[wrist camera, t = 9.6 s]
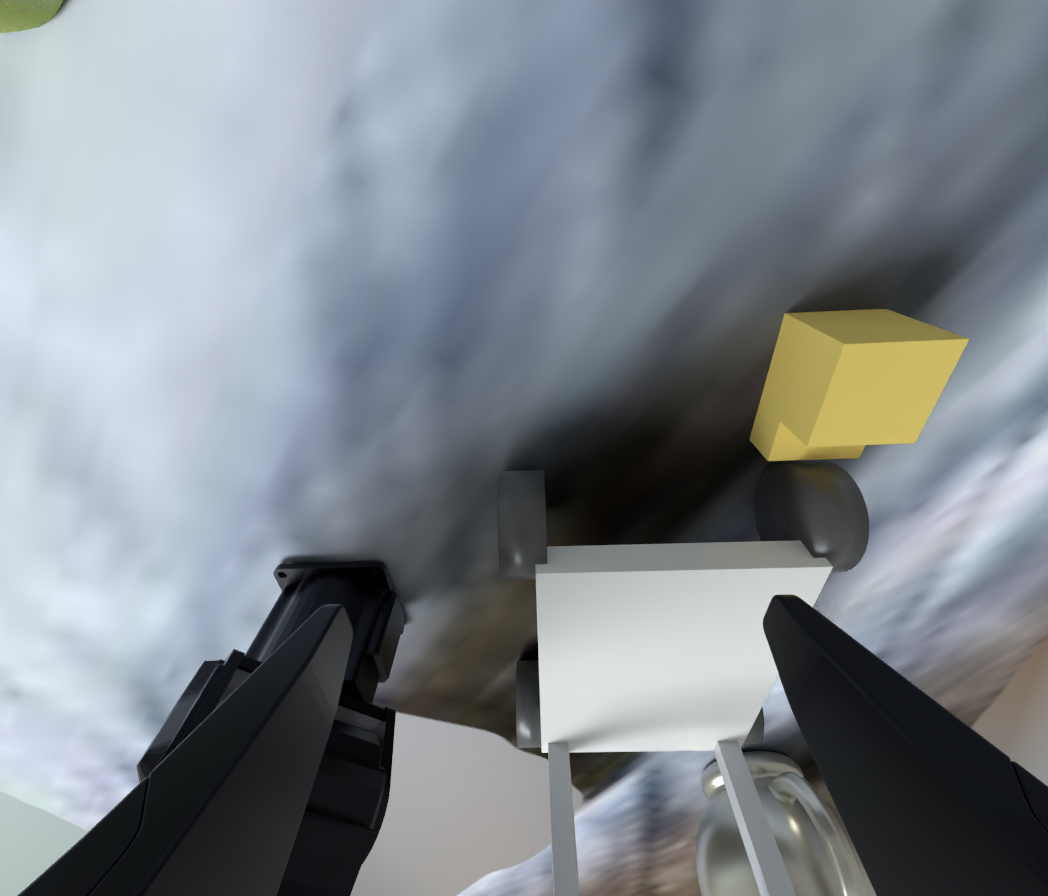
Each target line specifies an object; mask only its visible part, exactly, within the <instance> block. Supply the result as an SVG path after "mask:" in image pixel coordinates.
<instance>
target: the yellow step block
mask: <svg viewBox="0 0 1048 896" xmlns="http://www.w3.org/2000/svg"><path fill="white" fill-rule="evenodd" d="M968 341H969V339H968V338H965V337H963V336H960V335H957V334H954V333H952V332H949V331H946V330H943V329H940V328H938V327H935V326H932V325H929V324H927V323H924V322H921V321H918V320H916V319H913V318H910V317H907V316H904V315H902V314H899V313H896V312H893V311H891V310H888V309H870V310H847V311H824V312H801V313H785V314H784V318H783V321H782V325H781V329H780V332H779V336H778V339H777V343H776V346H775V350H774V354H773V357H772V361H771V364H770V368H769V371H768V375H767V379H766V382H765V386H764V389H763V393H762V396H761V400H760V403H759V407H758V411H757V414H756V418H755V421H754V425H753V428H752V432H751V436H750V439H749V440H750V441H751V442H752V443H753V444H754V446H755V447H756V448H757V449H758V450H759V451H760V453H761V454H762V455H763V456H764V457H765V458H766V460H767V461H788V460H817V459H846V458H860V456H861V454H862V452H863V450H864V448H865V445H879V444H907V443H915V442H916V440H917V438H918V437H919V435H920V433H921V431H922V429H923V427H924V425H925V423H926V421H927V419H928V417H929V415H930V414H931V412H932V410H933V408H934V406H935V404H936V402H937V400H938V398H939V396H940V394H941V393H942V391H943V389H944V387H945V385H946V383H947V381H948V379H949V377H950V375H951V373H952V371H953V370H954V368H955V366H956V364H957V362H958V360H959V358H960V356H961V354H962V352H963V350H964V349H965V347H966V345H967V343H968Z"/></svg>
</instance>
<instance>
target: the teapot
mask: <svg viewBox="0 0 1048 896" xmlns="http://www.w3.org/2000/svg"><path fill="white" fill-rule="evenodd" d="M742 753H743V756H744V758H745V761H746V764H747V766H748V769H749V771H750V774H751V777H752V779H753V782H754V785H755V787H756V790H757V793H758V795H759V798H760V801H761V803H762V806H763V809H764V811H765V814H766V817H767V819H768V822H769V825H770V827H771V830H772V833H773V835H774V838H775V841H776V843H777V846H778V849H779V851H780V854H781V857H782V859H783V862H784V865H785V867H786V870H787V873H788V875H789V878H790V881H791V883H792V886H793V889H794V891H795V894H796V896H877V895H876V893H875V891H874V889H873V887H872V885H871V882H870V880H869V878H868V876H867V874H866V871H865V869H864V867H863V865H862V863H861V861H860V858H859V856H858V854H857V852H856V850H855V847H854V845H853V843H852V841H851V839H850V837H849V834H848V832H847V830H846V828H845V826H844V823H843V821H842V819H841V817H840V815H839V812H838V810H837V808H836V807H834V806H833V805H832V804H831V803H830V802H828V801H827V800H825V799H824V798H823V797H822V796H821V795H820V794H819V792H818V791H817V790H816V789H815V788H814V787H813V786H812V785H811V784H810V783H809V782H808V781H807V780H806V779H804V775H803V772H802V770H801V768H800V767H799V766H798V764H797V763H796V762H794V761H793V760H792V759H790V758H789V757H787V756H785V755H782V754H779V753H775V752H769V751H748V752H742ZM701 786H702V789H703V792H704V794H705V795H706V797H707V798H708V799H709V800H710V802H709V804H708V805H707V807H706V809H705V811H704V813H703V816H702V818H701V821H700V825H699V829H698V834H697V842H696V867H697V875H698V881H699V886H700V891H701V895H702V896H761V895H760V892H759V889H758V886H757V883H756V879H755V876H754V873H753V870H752V867H751V864H750V861H749V858H748V855H747V852H746V849H745V846H744V843H743V840H742V837H741V834H740V830H739V827H738V824H737V821H736V818H735V815H734V812H733V809H732V806H731V803H730V800H729V797H728V794H727V791H726V788H725V785H724V782H723V778H722V775H721V772H720V769H719V766H718V763H717V761H715V762H713V763H712V764H710V765H709V766H708V767H707V768H706V769H705V771H704V772H703V775H702V778H701Z"/></svg>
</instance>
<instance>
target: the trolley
mask: <svg viewBox="0 0 1048 896" xmlns="http://www.w3.org/2000/svg"><path fill="white" fill-rule="evenodd" d="M755 519H756V525H757V529H758V533H759V537H760V540H761V541H755V542H714V543H673V544H632V545H591V546H551V547H547V529H546V502H545V482H544V470H522V471H501V472H500V476H499V486H498V547H499V562H500V571H501V577H502V580H518V579H536V599H537V628H538V658H539V660H518V661H517V672H516V728H517V745H518V748H522V747H542V753H548V759H549V784H550V811H551V836H552V862H553V888H554V896H580V893H579V880H578V867H577V853H576V840H575V827H574V813H573V801H572V787H571V773H570V760H569V752H634V751H711V750H713V751H714V754H715V757H716V760H717V763H718V766H719V769H720V772H721V775H722V778H723V782H724V785H725V788H726V791H727V794H728V797H729V800H730V803H731V806H732V809H733V812H734V815H735V818H736V821H737V824H738V827H739V830H740V834H741V837H742V840H743V843H744V846H745V849H746V852H747V855H748V858H749V861H750V864H751V867H752V870H753V873H754V876H755V879H756V883H757V886H758V889H759V892H760V895H761V896H796V894H795V891H794V889H793V886H792V883H791V881H790V878H789V875H788V873H787V870H786V867H785V865H784V862H783V859H782V857H781V854H780V851H779V849H778V846H777V843H776V841H775V838H774V835H773V833H772V830H771V827H770V825H769V822H768V819H767V817H766V814H765V811H764V809H763V806H762V803H761V801H760V798H759V795H758V793H757V790H756V787H755V785H754V782H753V779H752V777H751V774H750V771H749V769H748V766H747V764H746V761H745V758H744V756H743V753H742V750H741V747H742V745H747V744H759V743H760V742H761V740H762V738H763V733H764V715H763V708H762V706H763V704H764V702H765V700H766V698H767V696H768V694H769V692H770V690H771V688H772V686H773V684H774V682H775V680H776V678H777V676H778V671H777V668H776V665H775V662H774V659H773V656H772V653H771V650H770V647H769V645H768V642H767V639H766V636H765V633H764V630H763V618H764V615H765V613H766V611H767V608H768V606H769V604H770V601H771V599H772V597H773V596H775V595H787V594H791V595H796V596H798V597H799V598H801V599H802V600H804V601H805V602H806V603H808V604H809V605H810V606H811V607H813V605H814V603H815V601H816V600H817V598H818V596H819V594H820V592H821V590H822V588H823V586H824V584H825V582H826V580H827V578H828V576H829V574H830V572H845V571H848V570H850V569H852V568H853V567H855V566H856V565H857V564H858V563H859V561H860V560H861V558H862V557H863V555H864V553H865V550H866V547H867V543H868V538H869V519H868V512H867V508H866V504H865V501H864V498H863V496H862V494H861V491H860V489H859V488H858V486H857V484H856V483H855V481H854V480H853V479H852V477H851V476H850V475H849V474H848V473H847V472H846V471H845V470H843V469H842V468H841V467H839V466H837V465H835V464H833V463H829V462H801V463H777V464H773V465H771V466H770V467H768V468H767V469H766V470H765V471H764V473H763V474H762V476H761V478H760V480H759V483H758V486H757V489H756V495H755Z"/></svg>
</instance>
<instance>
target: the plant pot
mask: <svg viewBox="0 0 1048 896" xmlns="http://www.w3.org/2000/svg"><path fill="white" fill-rule="evenodd" d="M62 2H63V0H0V33H7V32H14V31H22V30H26V29H31V28H36V27H40V26H42V25H43V24H45V23H47V22H48V21H49V20H50V19H51V18H52V17H53V16H54V15H55V13H56V12H57V11H58V9H59V8H60V6H61V4H62Z"/></svg>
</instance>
